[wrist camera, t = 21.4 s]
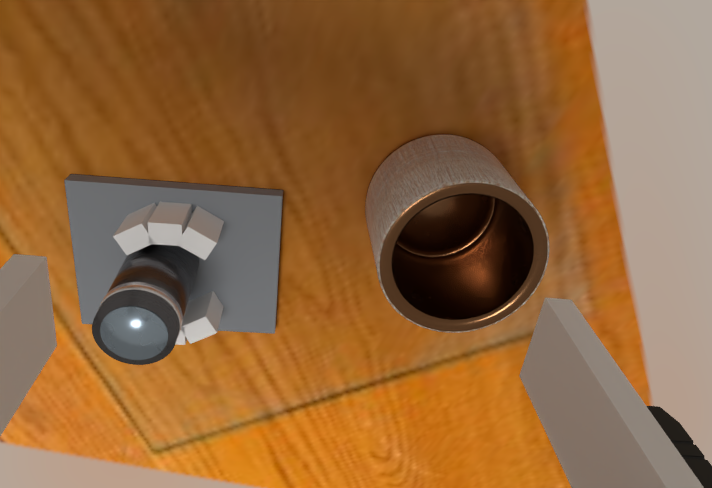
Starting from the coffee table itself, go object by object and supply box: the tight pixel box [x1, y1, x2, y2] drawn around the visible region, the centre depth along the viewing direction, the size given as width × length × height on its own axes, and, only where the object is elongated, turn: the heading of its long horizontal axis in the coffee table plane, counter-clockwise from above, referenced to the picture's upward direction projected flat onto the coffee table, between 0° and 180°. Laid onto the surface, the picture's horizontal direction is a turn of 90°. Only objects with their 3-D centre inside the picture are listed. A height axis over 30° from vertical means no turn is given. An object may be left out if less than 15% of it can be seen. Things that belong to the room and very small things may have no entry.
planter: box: [365, 134, 549, 333], centre depth 41 cm, size 11×11×10 cm
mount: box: [65, 174, 283, 345], centre depth 43 cm, size 12×15×5 cm
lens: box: [92, 244, 199, 365], centre depth 40 cm, size 5×5×9 cm
